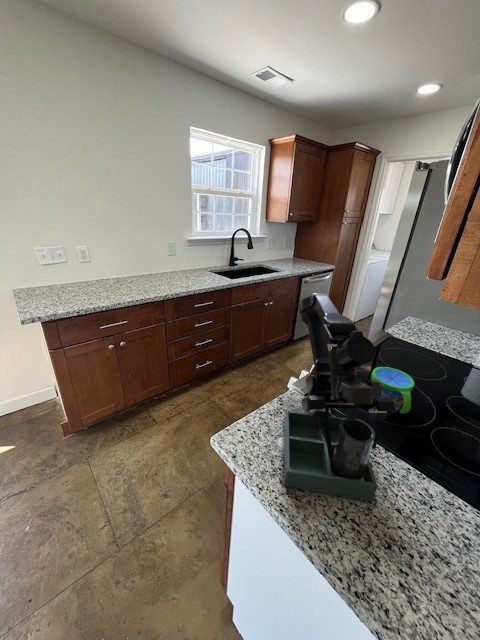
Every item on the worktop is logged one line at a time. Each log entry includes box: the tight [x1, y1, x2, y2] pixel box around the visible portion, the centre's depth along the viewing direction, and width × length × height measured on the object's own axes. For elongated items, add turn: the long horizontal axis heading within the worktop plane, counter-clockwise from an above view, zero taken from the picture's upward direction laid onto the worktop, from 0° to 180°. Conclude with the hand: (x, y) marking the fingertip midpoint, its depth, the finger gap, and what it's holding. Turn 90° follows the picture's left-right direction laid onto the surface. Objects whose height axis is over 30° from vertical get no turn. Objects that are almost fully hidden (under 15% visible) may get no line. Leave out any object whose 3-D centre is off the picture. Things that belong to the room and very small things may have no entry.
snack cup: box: [370, 366, 416, 414], centre depth 78 cm, size 16×10×10 cm
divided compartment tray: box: [283, 409, 378, 502], centre depth 62 cm, size 18×18×5 cm
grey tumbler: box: [330, 417, 375, 481], centre depth 55 cm, size 6×6×13 cm
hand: (351, 447), depth 55 cm, fingers open, 9 cm apart
